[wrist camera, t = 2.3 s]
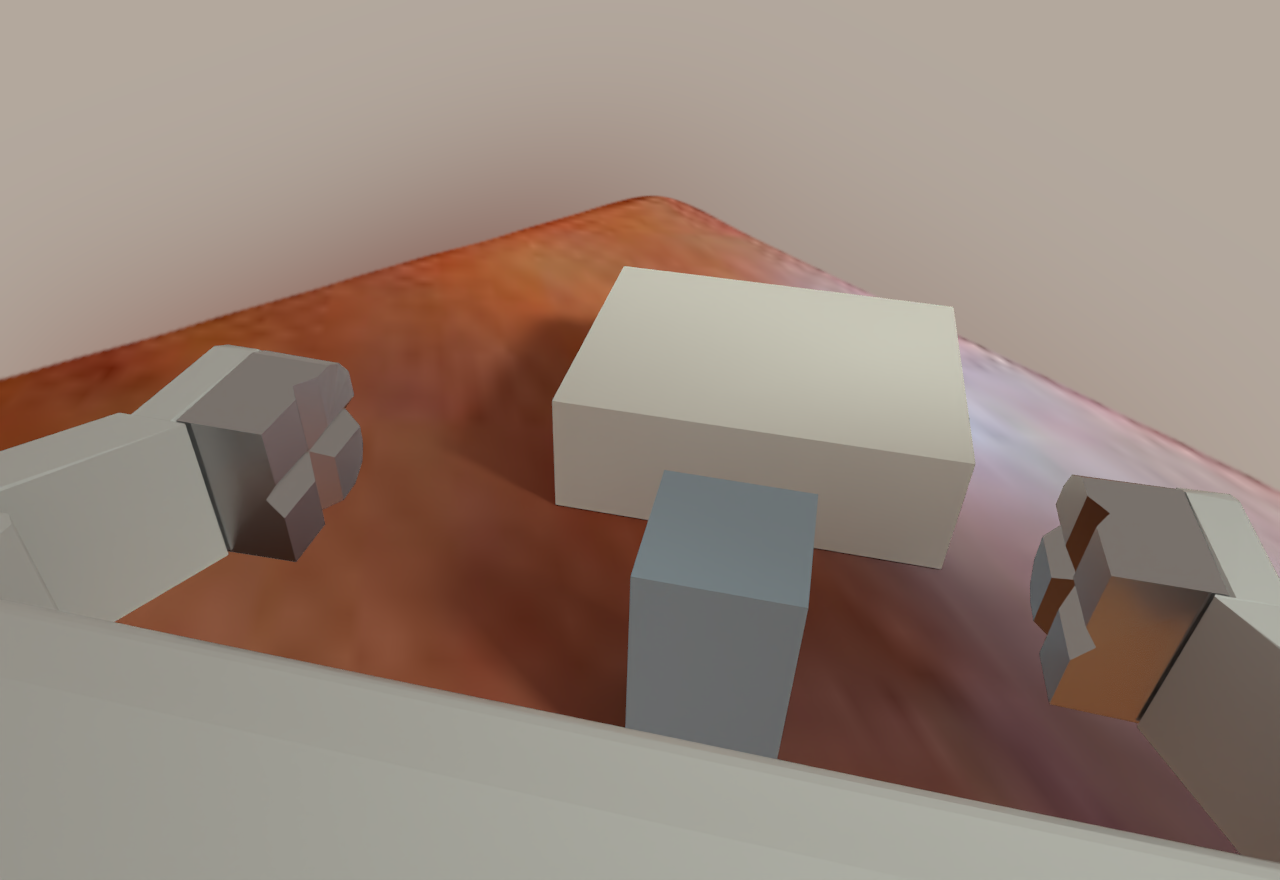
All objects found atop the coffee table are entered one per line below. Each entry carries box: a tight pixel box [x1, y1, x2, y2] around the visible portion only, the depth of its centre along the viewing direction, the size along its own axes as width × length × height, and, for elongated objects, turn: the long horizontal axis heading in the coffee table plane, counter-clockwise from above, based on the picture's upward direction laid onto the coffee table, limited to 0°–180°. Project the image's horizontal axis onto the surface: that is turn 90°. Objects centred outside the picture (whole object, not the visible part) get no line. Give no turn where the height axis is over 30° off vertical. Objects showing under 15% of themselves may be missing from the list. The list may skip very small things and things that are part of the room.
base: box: [552, 266, 975, 569], centre depth 45 cm, size 18×14×6 cm
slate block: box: [625, 470, 818, 759], centre depth 30 cm, size 5×5×10 cm
